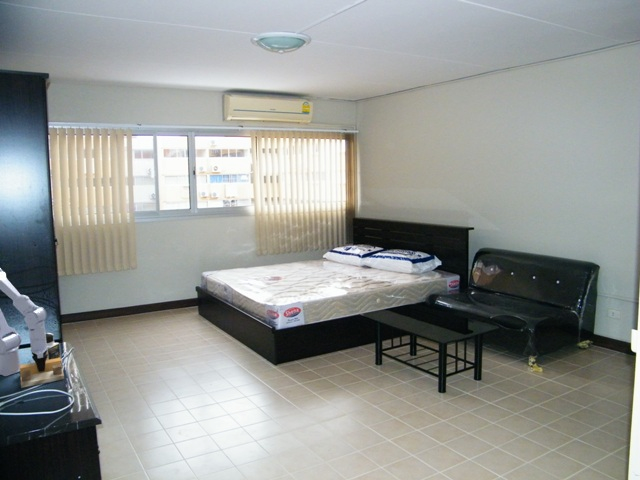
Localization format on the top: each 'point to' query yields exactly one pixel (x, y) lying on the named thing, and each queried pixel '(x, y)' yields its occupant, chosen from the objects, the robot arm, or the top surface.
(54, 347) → the medicine bottle
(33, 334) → the robot arm
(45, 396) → the top surface
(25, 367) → the amber bar
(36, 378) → the display stand
